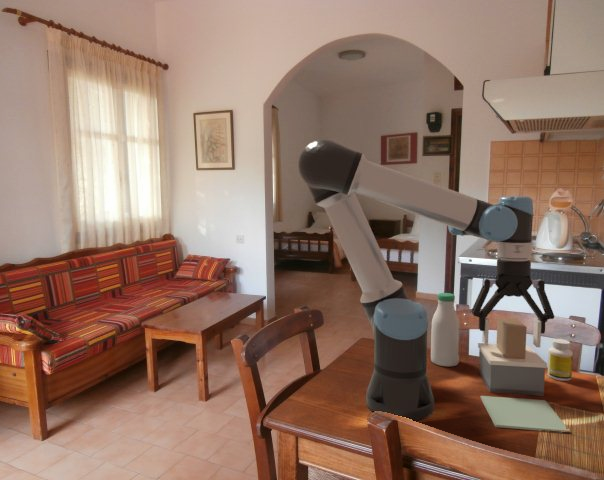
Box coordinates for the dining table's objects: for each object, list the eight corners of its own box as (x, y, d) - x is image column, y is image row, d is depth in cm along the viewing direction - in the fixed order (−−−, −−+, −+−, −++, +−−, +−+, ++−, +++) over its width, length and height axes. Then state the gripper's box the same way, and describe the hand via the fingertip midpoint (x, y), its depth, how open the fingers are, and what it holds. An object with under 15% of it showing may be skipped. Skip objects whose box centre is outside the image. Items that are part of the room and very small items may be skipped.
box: (490, 392, 102) (491, 364, 101) (478, 372, 114) (479, 347, 113) (543, 395, 100) (545, 367, 99) (526, 375, 111) (527, 349, 111)
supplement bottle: (575, 382, 107) (577, 345, 106) (551, 380, 108) (553, 343, 107) (566, 373, 112) (568, 338, 111) (544, 372, 113) (545, 337, 112)
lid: (490, 367, 101) (491, 328, 100) (477, 349, 113) (479, 314, 112) (546, 371, 99) (548, 330, 98) (528, 352, 111) (529, 316, 110)
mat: (495, 426, 86) (495, 424, 86) (480, 397, 99) (480, 395, 99) (569, 433, 84) (570, 430, 84) (544, 402, 96) (544, 400, 96)
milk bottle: (457, 369, 116) (459, 298, 114) (428, 364, 119) (430, 295, 117) (460, 359, 123) (461, 292, 121) (432, 355, 126) (434, 290, 124)
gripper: (466, 260, 102) (464, 346, 104) (573, 261, 98) (568, 352, 100) (460, 256, 110) (458, 337, 112) (559, 257, 105) (555, 341, 107)
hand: (510, 344), depth 106 cm, fingers open, 11 cm apart
